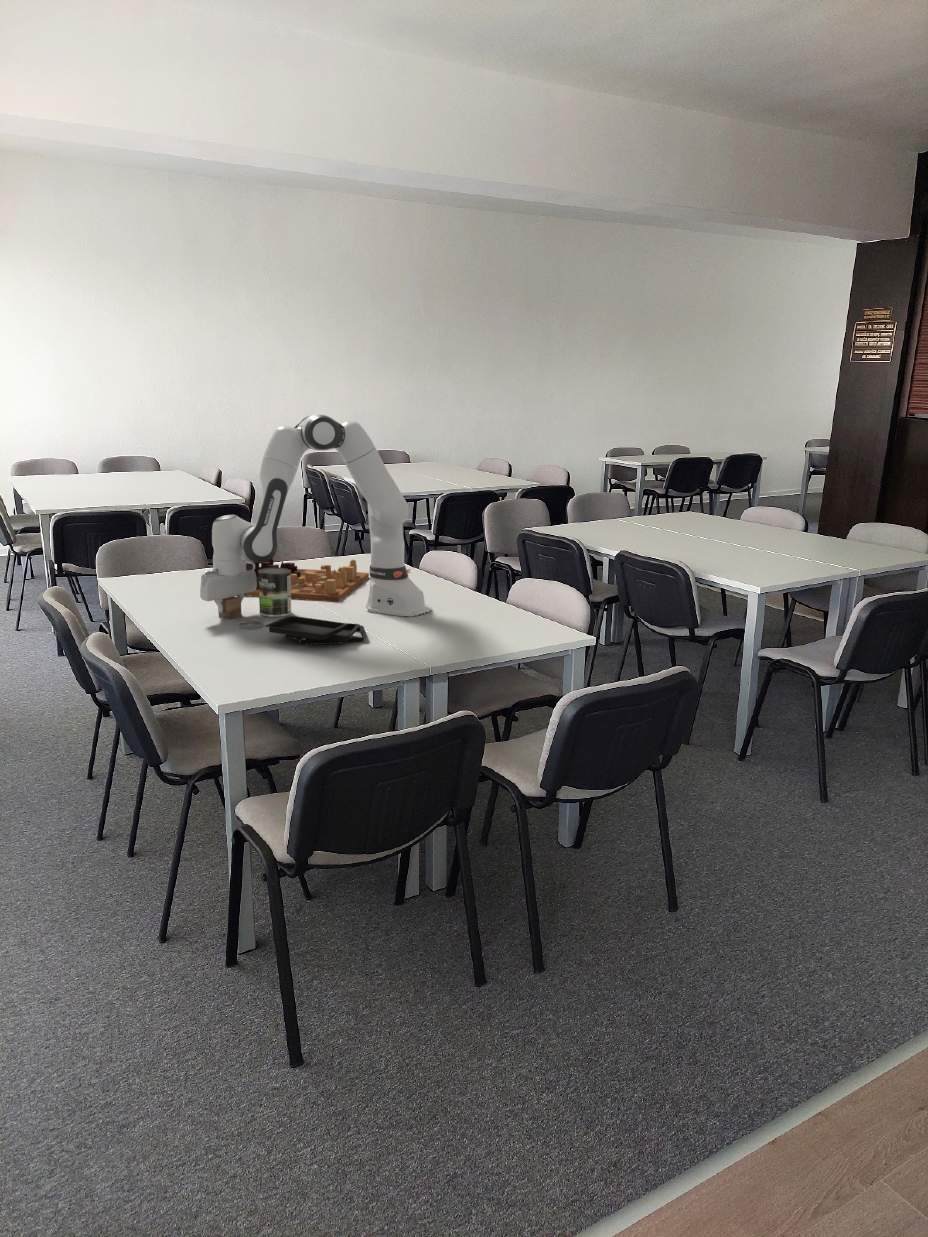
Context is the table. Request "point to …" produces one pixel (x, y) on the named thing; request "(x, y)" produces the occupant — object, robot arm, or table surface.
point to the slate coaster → (250, 625)
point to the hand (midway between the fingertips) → (229, 609)
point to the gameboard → (318, 581)
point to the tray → (317, 630)
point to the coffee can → (274, 592)
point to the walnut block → (231, 607)
